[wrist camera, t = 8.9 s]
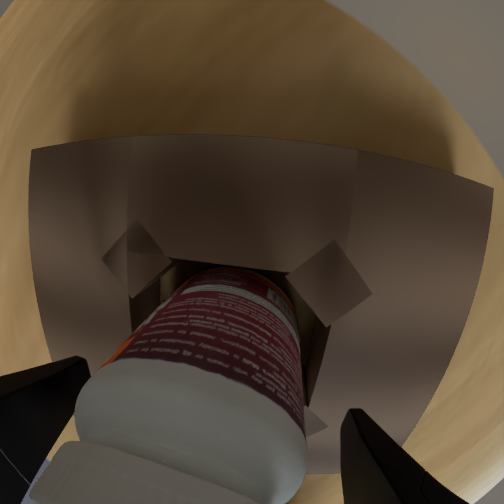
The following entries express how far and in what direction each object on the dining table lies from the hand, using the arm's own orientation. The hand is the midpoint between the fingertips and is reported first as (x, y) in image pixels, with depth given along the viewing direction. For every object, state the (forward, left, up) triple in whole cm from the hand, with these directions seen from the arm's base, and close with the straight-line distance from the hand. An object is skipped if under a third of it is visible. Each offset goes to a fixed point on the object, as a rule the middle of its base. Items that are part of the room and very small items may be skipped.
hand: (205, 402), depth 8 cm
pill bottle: (0, 0, -6) cm, 6 cm away
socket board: (0, 0, -6) cm, 6 cm away
